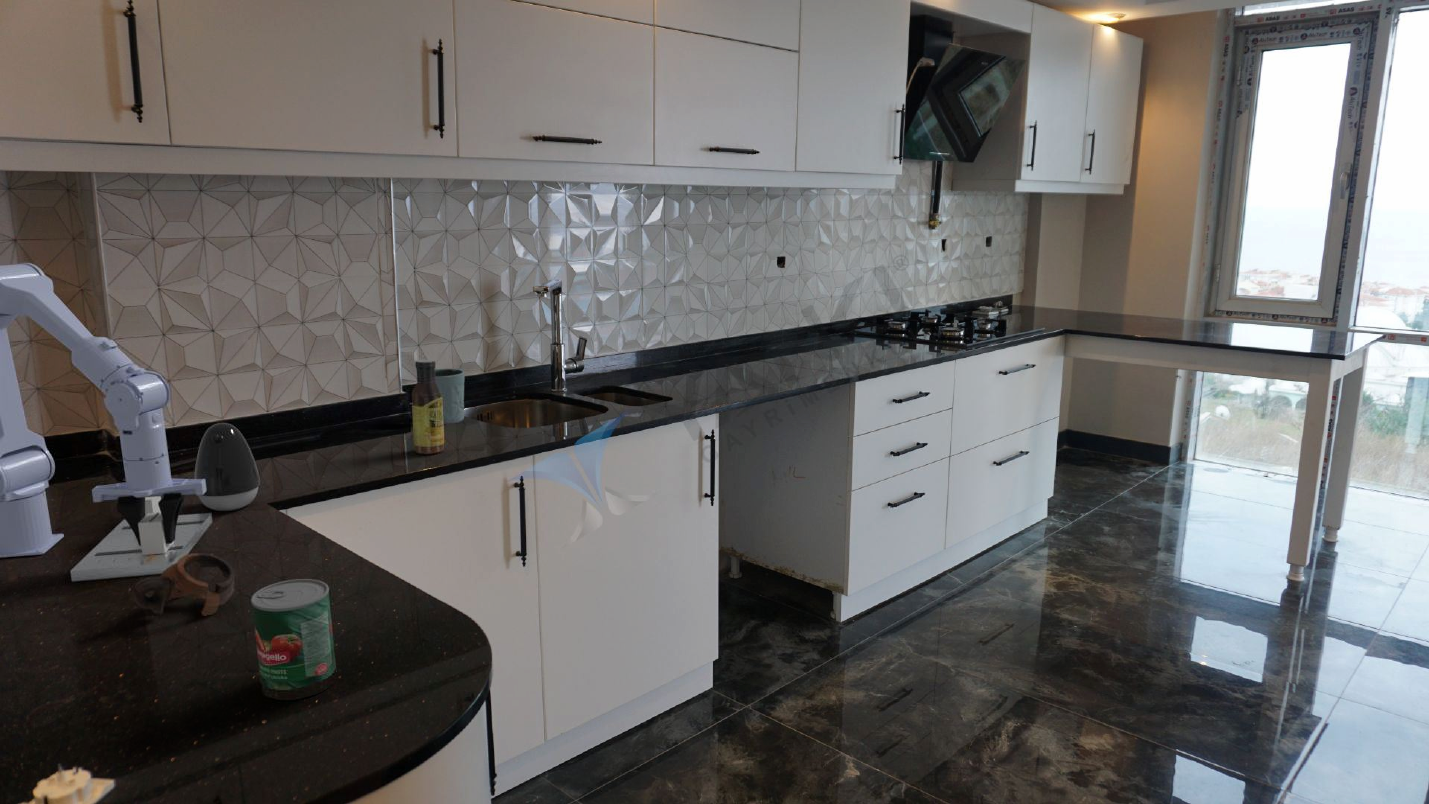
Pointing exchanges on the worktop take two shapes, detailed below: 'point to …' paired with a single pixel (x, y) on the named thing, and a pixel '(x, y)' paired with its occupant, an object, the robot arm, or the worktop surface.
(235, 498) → the black egg shape
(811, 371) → the worktop surface
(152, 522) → the cap
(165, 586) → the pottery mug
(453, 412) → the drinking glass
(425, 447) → the sauce bottle
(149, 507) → the far fader cap
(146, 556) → the board
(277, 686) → the canned tomato
